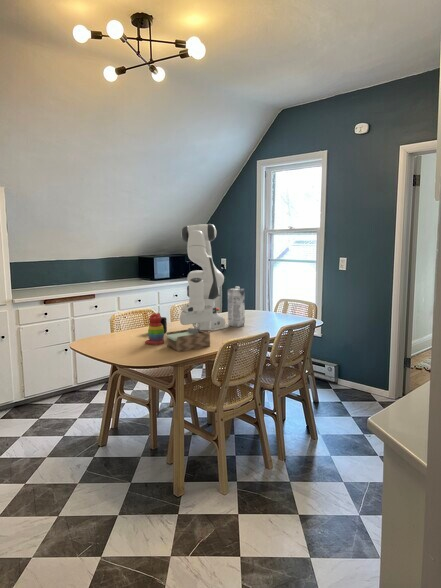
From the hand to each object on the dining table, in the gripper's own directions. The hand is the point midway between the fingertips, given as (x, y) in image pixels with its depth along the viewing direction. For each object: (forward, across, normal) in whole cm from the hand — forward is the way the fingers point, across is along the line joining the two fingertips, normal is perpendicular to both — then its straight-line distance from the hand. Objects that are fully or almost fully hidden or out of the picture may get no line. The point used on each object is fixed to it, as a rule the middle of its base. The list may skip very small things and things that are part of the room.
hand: (197, 330), depth 248 cm
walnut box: (+8, +6, 0) cm, 10 cm away
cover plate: (+2, +8, 0) cm, 9 cm away
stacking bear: (+9, +18, -18) cm, 27 cm away
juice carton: (+8, -47, -29) cm, 56 cm away
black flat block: (+9, +6, -41) cm, 42 cm away
